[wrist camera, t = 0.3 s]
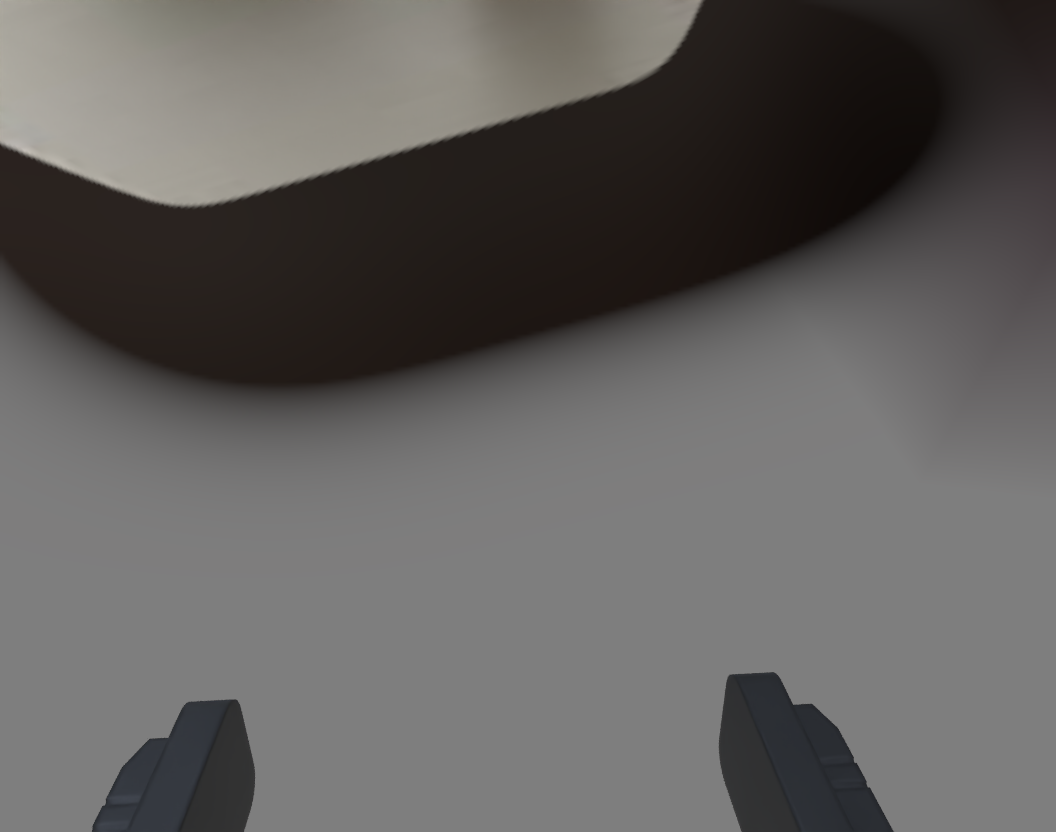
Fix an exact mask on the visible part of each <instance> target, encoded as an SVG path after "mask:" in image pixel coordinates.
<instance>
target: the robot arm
mask: <svg viewBox="0 0 1056 832" xmlns="http://www.w3.org/2000/svg"><path fill="white" fill-rule="evenodd" d="M719 754H720V764H721V768H722V774H723V778H724V781H725V784H726V787H727V790H728V793H729V796H730V799H731V802H732V805H733V808H734V811H735V813H736V817H737V819H738V822H739V825H740V828H741V831H742V832H893V830H892V828H891V826H890V824H889V822H888V820H887V819H886V817H885V815H884V813H883V811H882V809H881V807H880V806H879V804H878V802H877V800H876V798H875V796H874V794H873V793H872V791H871V789H870V788H868V787H867V784H866V780H865V778H864V776H863V774H862V772H861V770H860V768H859V766H858V765H857V763H854V757H853V755H852V754H851V752H850V750H849V748H848V746H847V744H846V743H845V740H844V739H843V737H842V735H841V733H840V731H839V729H838V728H837V727H836V726H835V725H834V724H833V723H832V722H831V721H830V720H829V719H828V718H826V717H825V716H824V715H823V714H822V713H821V712H820V711H819V710H818V709H817V708H816V707H815V706H814V705H813V704H801V705H793V704H792V702H791V700H790V698H789V696H788V693H787V692H786V689H785V687H784V685H783V683H782V682H781V679H780V678H779V676H778V675H777V674H776V673H774V672H771V673H752V674H735V675H734V674H733V675H729V677H728V679H727V683H726V690H725V698H724V706H723V714H722V721H721V729H720V737H719ZM254 787H255V769H254V763H253V758H252V754H251V750H250V745H249V741H248V737H247V733H246V728H245V724H244V719H243V715H242V711H241V707H240V704H239V703H238V701H237V700H216V701H200V702H199V701H197V702H188V703H186V704H185V705H184V707H183V708H182V710H181V712H180V714H179V716H178V718H177V720H176V722H175V725H174V727H173V729H172V731H171V734H170V736H169V738H157V739H149V740H148V741H147V742H146V743H145V744H144V745H143V746H142V747H141V748H140V749H139V750H138V751H137V753H135V755H134V756H133V757H132V758H131V759H130V760H129V761H128V762H127V763H126V764H125V765H124V766H123V767H122V769H121V770H120V772H119V775H118V776H117V778H116V780H115V782H114V784H113V786H112V788H111V790H110V792H109V794H108V796H107V798H106V804H105V806H102V808H101V810H100V812H99V814H98V816H97V818H96V820H95V822H94V824H93V830H92V832H244V829H245V826H246V823H247V819H248V816H249V813H250V810H251V806H252V801H253V795H254Z"/></svg>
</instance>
